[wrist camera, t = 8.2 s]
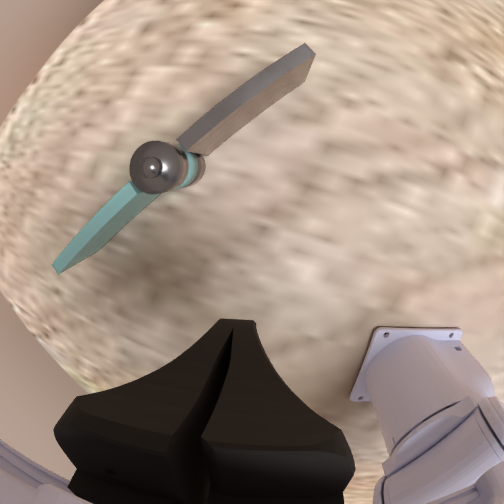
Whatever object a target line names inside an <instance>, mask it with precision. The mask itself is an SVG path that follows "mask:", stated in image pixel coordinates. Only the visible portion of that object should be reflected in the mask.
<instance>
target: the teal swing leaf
mask: <svg viewBox="0 0 504 504" xmlns="http://www.w3.org/2000/svg"><path fill="white" fill-rule="evenodd" d="M175 145H176V144H175ZM177 146H179V147H180V148H181V149H182V150H183V151H184V152H185V154H186V156H187V158H188V162H189V170H188V174H187V177H186V179H185V181H184V182H183V183H182V184H181V185H180V186H179V187H178V188H176V189H179V188H183V187H185V186H187V185H189V184H190V183H191V182H192V181H193V180H194V178H195V177H196V175H197V171H198V161H197V158H196V156H195V154H194V153H193V152H187V151H186V150H185V149H184V148H183V147H182V146H181V145H177ZM174 190H175V189H174ZM160 194H161V193H160ZM160 194H153V195H151V194H146V193H144V192H142V191H140V190H139V189H138V188H137V187H136V186H135V185H134V183H133V181H130V182H128V183H127V184H126V185H125V186H124V187H122V188H121V189H120V190H119V191H118V192H117V193H116V194H115V195H114V196H113V197H112V198H111V199H110V200H109V201H108V202H107V203H106V204H105V205H104V206H103V207H102V208H101V209H100V210H99V211H98V212H97V214H96V215H95V216H94V217H93V218H92V219H91V220H90V221H89V222H88V223H87V224H86V225H85V226H84V227H83V229H82V230H81V231H80V232H79V233H78V234H77V235H76V236H75V237H74V239H73V240H72V241H71V242H70V243H69V244H68V246H67V247H66V248H65V249H64V250H63V251H62V253H61V254H60V255H59V256H58V257H57V259H56V260H55V261H54V262H53V264H52V266H53V267H54V269H55V270H56V272H57V273H58V275H59V274H60V273H62V272H64V271H65V270H67V269H69V268H70V267H72V266H74V265H75V264H77V263H79V262H81V261H82V260H84V259H86V258H88V257H89V256H91V255H93V254H95V253H96V252H98V251H99V250H100V249H101V248H102V247H103V246H104V245H105V244H106V243H107V242H108V241H109V240H110V239H111V238H112V237H113V236H114V235H115V234H116V233H117V232H118V231H120V230H121V229H122V228H123V227H124V226H125V225H126V224H127V223H128V222H129V221H130V220H132V219H133V218H134V217H135V216H136V215H137V214H138V213H139V212H140V211H142V210H143V209H144V208H145V207H146V206H147V205H148V204H150V203H151V202H152V201H153V200H154V199H155V198H157V197H158V196H159V195H160Z"/></svg>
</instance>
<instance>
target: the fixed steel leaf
mask: <svg viewBox="0 0 504 504" xmlns="http://www.w3.org/2000/svg"><path fill="white" fill-rule="evenodd" d="M315 55H316V54H315V53H314V52H313V51H312V50H311V49H310V48H309V47H308V46H307V45H306V44H305V43H304V44H303V45H301V46H299V47H298V48H296V49H294V50H293V51H291V52H290V53H288V54H287V55H285V56H283V57H282V58H280V59H279V60H277V61H276V62H274V63H273V64H271V65H270V66H268V67H267V68H265V69H264V70H263V71H261V72H260V73H258V74H257V75H255V76H254V77H253V78H251V79H250V80H249V81H247V82H246V83H244V84H243V85H242V86H240V87H239V88H238V89H236V90H235V91H234V92H232V93H231V94H230V95H229V96H227V97H226V98H225V99H223V100H222V101H221V102H220V103H218V104H217V105H216V106H215V107H214V108H212V109H211V110H210V111H209V112H207V113H206V114H205V115H204V116H203V117H201V118H200V119H199V120H198V121H197V122H196V123H194V124H193V125H192V126H191V127H190V128H189V129H188V130H186V131H185V132H184V133H183V134H182V135H181V136H180V137H179V138H178V139H176V140H177V141H178V142H179V143H180V145H181V146H182V147H183V148H184V149H185V150H186V151H187V152H193V153H194V154H195V156H196V158H197V161H198V171H197V175H196V177H195V178H194V180H193V181H192V182H191V183H190V184H189V185H187V186H191V185H194V184H195V183H197V182H198V181H199V180H200V179H201V178H202V176H203V174H204V172H205V160H204V158H203V156H202V155H201V154H204V155H209V154H210V153H211V152H213V151H214V150H215V149H216V148H217V147H219V146H220V145H221V144H222V143H223V142H225V141H226V140H227V139H228V138H229V137H231V136H232V135H233V134H234V133H236V132H237V131H238V130H239V129H241V128H242V127H243V126H244V125H246V124H247V123H248V122H250V121H251V120H252V119H254V118H255V117H256V116H257V115H259V114H260V113H261V112H263V111H264V110H265V109H267V108H268V107H269V106H271V105H272V104H274V103H275V102H276V101H278V100H279V99H280V98H282V97H283V96H285V95H286V94H288V93H289V92H290V91H292V90H293V89H295V88H296V87H298V86H299V85H301V84H302V83H303V82H305V80H306V77H307V75H308V72H309V70H310V67H311V65H312V62H313V60H314V57H315ZM188 170H189V162H188V158H187V156H186V154H185V152H184V151H183V150H182V149H181V148H180V147H179V146H177V145H175V144H171V143H166V142H161V141H150V142H147V143H144V144H143V145H141V146H140V147H139V148H138V149H137V150H136V151H135V153H134V154H133V156H132V158H131V162H130V176H131V179H132V181H133V183H134V185H135V186H136V187H137V188H138V189H139V190H140V191H142V192H144V193H146V194H151V195H153V194H160V193H164V192H167V191H171V190H174V189H176V188H178V187H179V186H180V185H181V184H182V183H183V182H184V181H185V179H186V177H187V174H188ZM187 186H185V187H187Z"/></svg>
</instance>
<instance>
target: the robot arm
mask: <svg viewBox="0 0 504 504" xmlns="http://www.w3.org/2000/svg"><path fill="white" fill-rule="evenodd" d="M386 332H388V333H387V334H386V335H384V334H385V333H386ZM462 333H463V332H462V330H461V329H459V328H456V329H430V328H389V327H379V328H377V329H376V330H375V332H374V334H373V337H372V340H371V343H370V346H369V348H368V351H367V354H366V357H365V359H364V362H363V365H362V367H361V370H360V372H359V375H358V377H357V380H356V382H355V385H354V387H353V389H352V392H351V394H350V397H349V398H350V400H351V401H352V402H365V401H371V402H372V405H373V408H374V411H375V414H376V417H377V420H378V422H379V425H380V428H381V431H382V434H383V437H384V441H385V444H386V447H387V450H388V453H389V456H390V457H389V458H388V459H387V460H386V461H385V462H383V463H382V466H383V469H384V473H385V476H383V477H381V478H380V479H379V480H378V482H377V483H376V486H375V489H374V495H373V504H504V404H503V403H502V402H501V401H500V400H499V399H498V398H497V397H496V396H495V395H494V386H493V383H492V380H491V378H490V376H489V374H488V373H487V372H486V371H485V369H484V368H483V367H482V366H481V365H480V363H479V362H478V361H477V360H476V359H475V357H474V356H473V355H472V354H471V353H470V352H469V351H468V349H467V348H466V347H465V346H464V345H463V344H462V343H461V341H460V339H461V336H462ZM54 435H55V438H56V440H57V442H58V444H59V446H60V447H61V448H62V450H63V451H64V453H65V454H66V455H67V457H68V458H69V459H70V461H71V462H72V463H73V464H74V466H75V467H76V468H77V470H76V472H75V473H74V476H73V477H72V479H71V481H69V480H67V479H65V478H63V477H61V476H59V475H57V474H56V473H54V472H52V471H50V470H48V469H46V468H44V467H43V466H41V465H39V464H37V463H36V462H34V461H32V460H31V459H29V458H27V457H26V456H24V455H23V454H21V453H20V452H18V451H17V450H15V449H14V448H12V447H10V446H9V445H8V444H6V443H5V442H3V441H2V440H1V439H0V504H344V498H343V491H344V490H345V488H346V487H347V485H348V483H349V482H350V480H351V479H352V477H353V475H354V472H355V463H354V459H353V455H352V453H351V450H350V448H349V445H348V443H347V441H346V438H345V436H344V434H343V432H342V431H341V429H339V428H338V427H336V426H334V425H333V424H331V423H330V422H328V421H327V420H325V419H324V418H322V417H320V416H319V415H318V414H316V413H315V412H314V411H313V410H311V409H310V408H309V407H308V406H307V405H306V404H305V403H304V402H303V401H302V400H300V399H299V398H298V397H297V396H296V395H295V394H294V393H293V392H292V391H291V389H290V388H289V387H288V386H287V385H286V384H285V382H284V381H283V380H282V378H281V377H280V376H279V374H278V373H277V372H276V370H275V369H274V367H273V365H272V364H271V362H270V360H269V359H268V357H267V355H266V353H265V351H264V349H263V346H262V344H261V342H260V339H259V336H258V333H257V329H256V323H255V322H254V321H253V320H236V319H220V320H219V321H217V322H216V323H215V324H214V325H213V326H212V327H211V328H210V329H209V330H208V331H207V332H206V333H205V334H204V335H203V336H202V337H201V338H200V339H199V340H198V341H197V342H196V343H195V344H193V345H192V346H191V347H190V348H189V349H187V350H186V351H185V352H184V353H182V354H181V355H180V356H178V357H177V358H176V359H174V360H173V361H171V362H170V363H168V364H166V365H165V366H163V367H161V368H160V369H158V370H156V371H154V372H152V373H150V374H148V375H146V376H144V377H141V378H139V379H137V380H135V381H132V382H130V383H127V384H124V385H122V386H119V387H116V388H112V389H109V390H105V391H101V392H97V393H92V394H88V395H83V396H77V397H76V398H75V399H74V401H73V402H72V403H71V404H70V406H69V407H68V408H67V410H66V411H65V413H64V414H63V416H62V417H61V418H60V420H59V421H58V422H57V424H56V425H55V427H54Z"/></svg>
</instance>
